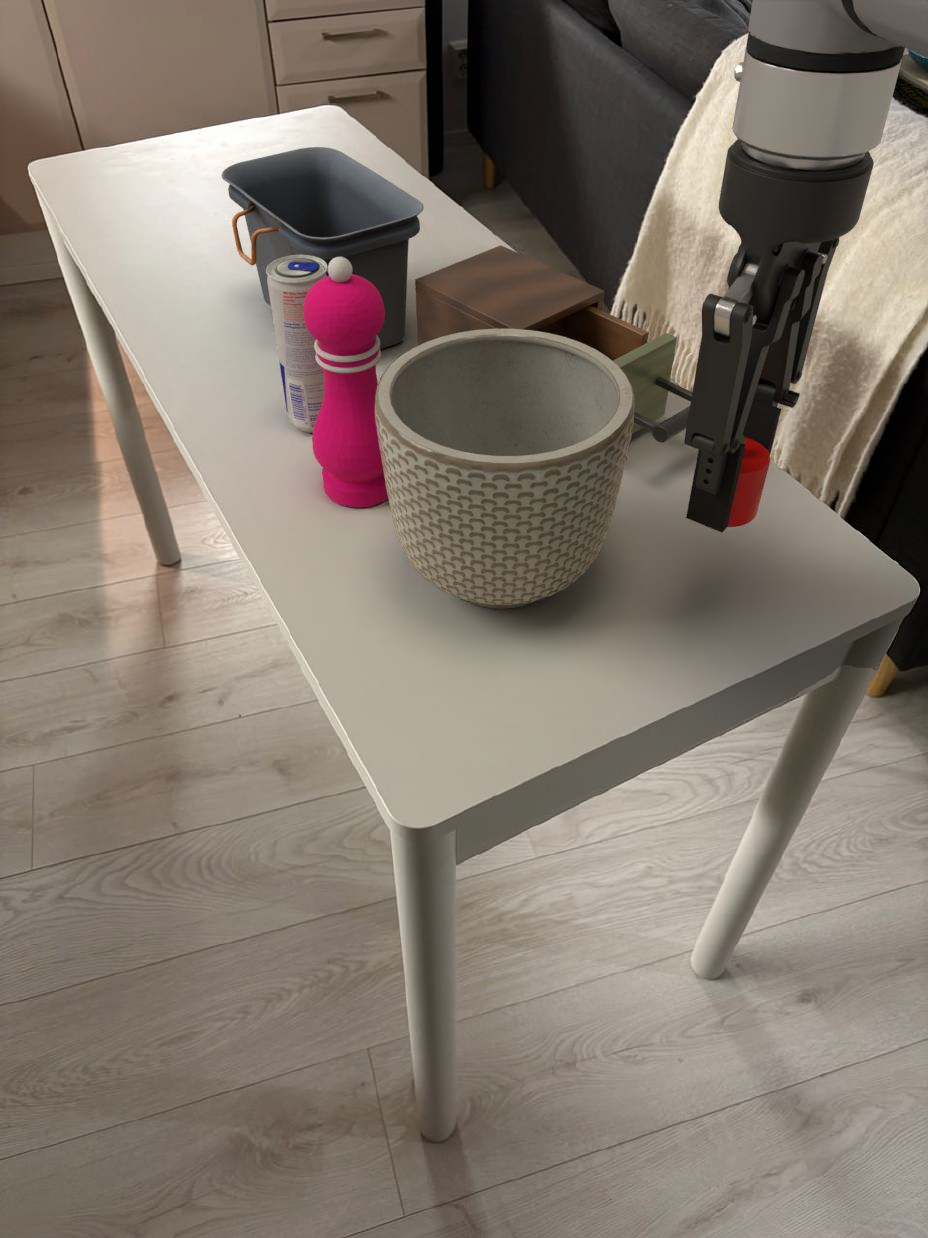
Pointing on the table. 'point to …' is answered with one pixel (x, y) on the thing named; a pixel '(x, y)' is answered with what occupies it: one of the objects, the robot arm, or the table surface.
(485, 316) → the cabinet
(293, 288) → the beverage can
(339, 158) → the storage bin
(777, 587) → the table surface
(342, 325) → the pepper mill
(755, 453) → the pepper
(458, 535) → the planter
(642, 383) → the drawer
